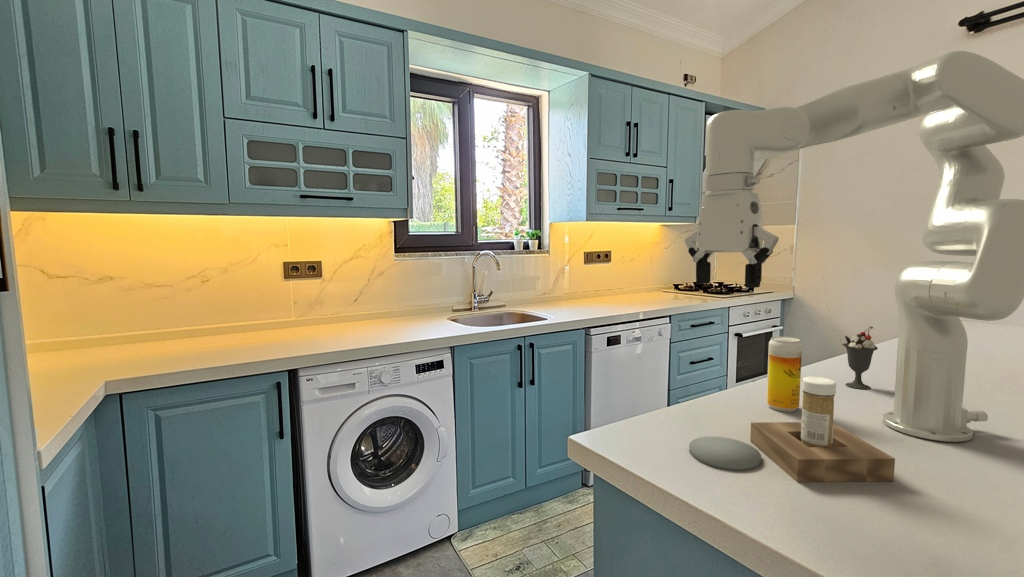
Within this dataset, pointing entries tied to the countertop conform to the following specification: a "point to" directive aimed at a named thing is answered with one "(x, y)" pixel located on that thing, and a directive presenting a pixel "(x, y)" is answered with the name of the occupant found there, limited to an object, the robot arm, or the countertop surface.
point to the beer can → (784, 373)
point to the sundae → (859, 357)
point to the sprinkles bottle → (817, 411)
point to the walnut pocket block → (822, 455)
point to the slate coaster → (725, 453)
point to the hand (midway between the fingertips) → (726, 285)
